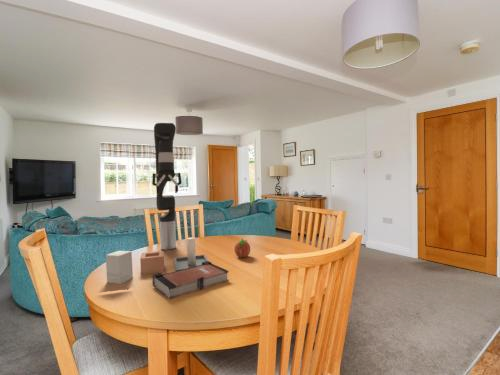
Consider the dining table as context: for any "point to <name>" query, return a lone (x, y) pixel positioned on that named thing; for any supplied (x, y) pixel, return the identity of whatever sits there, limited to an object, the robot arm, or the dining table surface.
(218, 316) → the dining table surface
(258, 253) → the dining table surface
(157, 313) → the dining table surface
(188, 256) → the peg
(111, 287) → the dining table surface
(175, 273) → the book
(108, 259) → the supplement box
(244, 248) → the fruit
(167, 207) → the robot arm
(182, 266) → the tray
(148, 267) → the square hole frame
